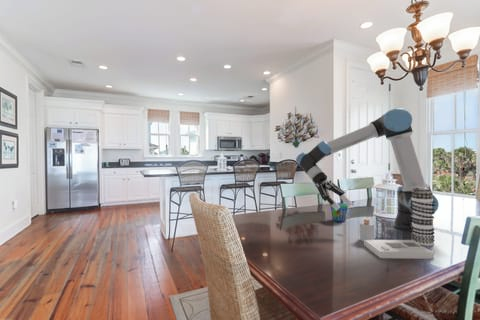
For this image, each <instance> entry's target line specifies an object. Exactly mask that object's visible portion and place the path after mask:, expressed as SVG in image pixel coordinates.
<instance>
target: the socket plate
mask: <svg viewBox="0 0 480 320" xmlns="http://www.w3.org/2000/svg"><path fill="white" fill-rule="evenodd" d="M363 246H364V247H366V248H367V249H368V250H369V251H371V252H372V253H374V254H375V255H376V256H377V257H378V258H379V259H413V260H414V259H421V260H423V259H424V260H425V259H429V260H431V259H435V252H434V251H432V250H430V249H428V248H426V247H425V246H424V245H419V244H417V243H415V242H413V241H412V240H411V239H374V240H364V242H363Z"/></svg>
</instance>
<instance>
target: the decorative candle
mask: <svg viewBox="0 0 480 320" xmlns="http://www.w3.org/2000/svg"><path fill="white" fill-rule="evenodd" d="M430 189H431V188H430ZM430 189H429V188H425V187H415V188H414V189H413V190H411V191H412V197H411V203H410V205H411V206H410V208H411V209H412V210H411V216H412V226H411V228H412V229H411V231H410V232H411V233H410V234H411V236H410V237H411V239H410V240H411V241H413V242H415V243H417V244H419V245H421V246H424V247H425V246H427V247H428V246H429V247H430V246H434V245H435V235H434V234H435V228H434V220H433V219H435V216H433V215H435V213H436V212H435V213H434V212H433V211H434V210H435V209H434V208H432V206H435V204H432V203H434V202H435V201H433V197H432V195H433V193H434V191H432V189H431V190H430Z"/></svg>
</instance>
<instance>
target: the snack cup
mask: <svg viewBox="0 0 480 320" xmlns="http://www.w3.org/2000/svg"><path fill="white" fill-rule="evenodd" d="M336 203H337V204H338V205H339V206H340V208H339V209H338V210H337V211H336V210H335V209H334V208H333V207H332V206H331V205H330V204H329V207H330V211H331V218H332V221H334V222H341V223H342V222H346V220H347V213H348V208H349V207H348V206H347V205H346V204H345V203H344V202H343V203H341V202H336Z"/></svg>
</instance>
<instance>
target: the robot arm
mask: <svg viewBox="0 0 480 320" xmlns="http://www.w3.org/2000/svg"><path fill="white" fill-rule="evenodd" d="M412 122H413V117H412V114H411V113H410V111H408V110H407V109H404V108H399V107H398V108H393V109H390V110H388V111H387V112H385V113H384V114H382V115H381V116H380V117H378V118H376V119H375V120H373V121H370V122H369V124H368V125H366V126H363V127H361V128H358V129H356V130H353V131H351V132H349V133H347V134H345V135H342V136H339V137H337V138H335V139H332V140H330V141H328V142H326V141H325V140H322V141H321V142H319V143H318V144H317V145H316V146H315V147H314V148H312V149H311V150H310V151H309V152H305V151H304V152H301V153H300V154H298V155H297V156H296V158H295V161H296V163H297V164H298V166H299V167H300V169H301V170H302V171H304V173H305V174H306V175H307V176H308V178H309V179H310V180H311V181H312V183H313V184H314V186H315V187H316V189H317V190H318V192H319V195H320V197H321V199H322V200H323V201H324V202H326V201H327V202H328V204H329V206H330V205H331V206H332V207H333V208H334V209H335V210H336V211H337V210H338V209H339V208H340V206H339V205H338V204H337V203H338V202H336V201H335V199H334V198H333V197H332V196H330V193H329V191H330V192H333V193H334V194H336V195H338V196H339V198H340V200H342V201H343V204H346V205H347V206H348V208H349V207H351V206H352V205H353V202H352V201H351V200H350V198H348V197H347V196H346V194H345V193H346V192H345V190H343V188H340V187H339V185H337V184H336V183H335V182H333V180H331V179H330V180H328V175H326V172H323V170H322V169H321V168H320V166H319V165H318V163H319V162H320V161H321V160H323V159H324V158H326V157H329V156H331V155H333V154H336V153H338V152H340V151H343V150H346V149H348V148H350V147H353V146H356V145H358V144H360V143H363V142H366V141H369V140H370V139H373V138H376V139H378V138H380V137H384V136H385V138H386V140H389V142H390V143H391V146H392V150H393V153H394V157H395V161H396V164H397V166H398V170H399V174H400V177H401V179H402V183H403V185H402V186H398V187H397V191H396V193H397V213H396V217H395V219H394V221H393V223H394V224H393V226H394V227H395V228H396V229H399V230H403V231H408V232H412V231H411V229H412V228H411V226H412V216H411V210H412V209H411V208H410V206H411V205H410V203H411V197H412V191H411V190H413V189H414V188H415V187H425V188H429V189H430V190H431V191H432V189H431V186H430V185H429V184H428V183H426V182H425V180H424V176H423V173H422V169H421V167H420V164H419V163H420V162H419V160H418V157H417V156H418V155H417V153H416V151H415V147H414V143H413V140H412V137H411V136H412V134H413V132H414V130H413V128H412ZM432 197H433V201H435V202H434V203H432V204H435V206H432V208H434V209H435V210H434V211H433V212H434V213H436V212H437V210H438V209H439V200H438V199H437V197H436V196H435V195H434V194H432Z"/></svg>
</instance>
